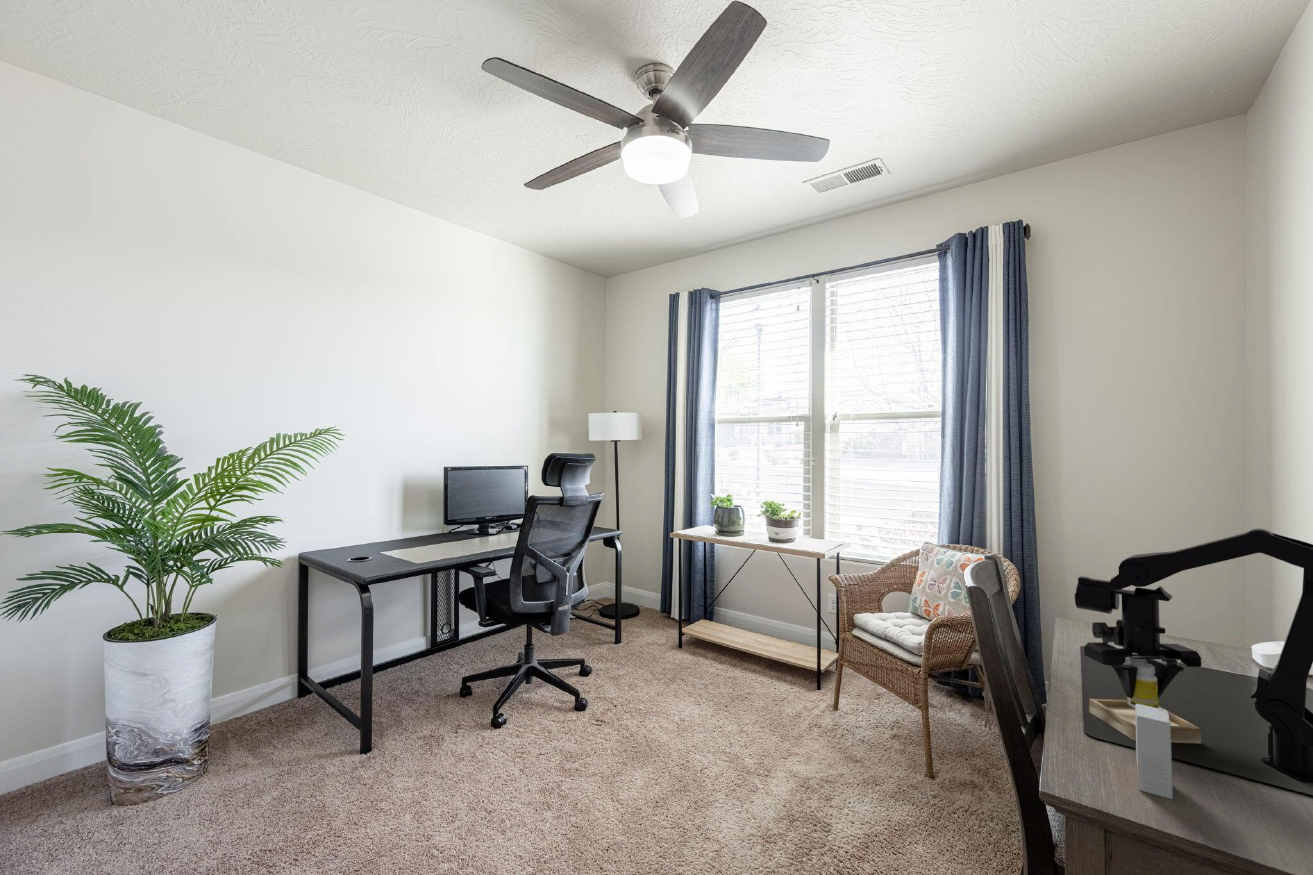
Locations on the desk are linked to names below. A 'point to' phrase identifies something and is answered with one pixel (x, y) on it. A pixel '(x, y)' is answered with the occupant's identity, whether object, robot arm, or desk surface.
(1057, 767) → the desk surface
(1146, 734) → the skincare box
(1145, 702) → the supplement bottle
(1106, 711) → the wooden tray
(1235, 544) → the robot arm
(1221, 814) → the desk surface
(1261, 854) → the desk surface
